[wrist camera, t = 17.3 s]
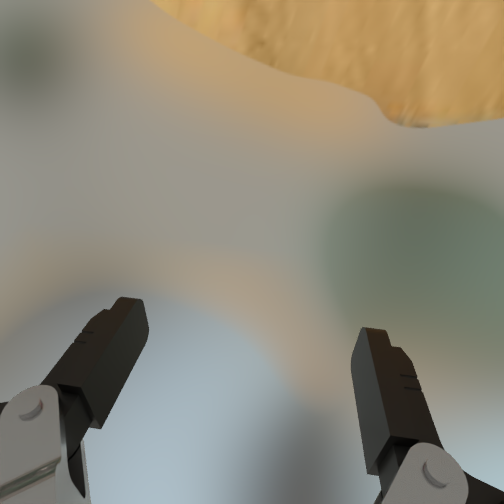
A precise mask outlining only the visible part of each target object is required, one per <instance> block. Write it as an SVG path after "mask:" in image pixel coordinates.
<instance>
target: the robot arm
mask: <svg viewBox="0 0 504 504" xmlns="http://www.w3.org/2000/svg"><path fill="white" fill-rule="evenodd" d="M148 334H149V327H148V321H147V317H146V312H145V307H144V303H143V301H142V300H141V299H135V298H127V297H120V298H118V299H117V301H116V302H115V304H114V305H113V306H112V308H111V309H110V310H107V309H104V310H102V311H101V312H100V313H98V314H97V315H96V316H94V317H93V318H91V319H90V321H89V322H88V323H87V325H86V326H85V327H84V328H83V330H82V333H80V334H79V335H78V336H77V338H76V339H75V340H74V343H72V344H71V345H70V347H69V348H68V349H67V351H66V352H65V353H64V355H63V356H62V357H61V359H60V360H59V361H58V362H57V364H56V365H55V366H54V368H53V369H52V370H51V371H50V373H49V374H48V375H47V377H46V378H45V379H44V380H43V381H42V383H41V384H40V385H38V386H33V387H30V388H28V389H26V390H24V391H22V392H20V393H19V394H17V395H16V396H15V397H13V398H12V399H11V400H10V401H9V402H4V403H0V504H91V500H90V492H89V483H88V474H87V466H86V458H85V448H84V441H83V437H84V435H85V433H86V432H87V430H88V428H89V427H90V428H96V429H101V428H102V426H103V424H104V423H105V420H106V419H107V417H108V415H109V413H110V411H111V409H112V407H113V405H114V403H115V402H116V399H117V398H118V396H119V394H120V392H121V389H122V388H123V386H124V384H125V382H126V380H127V378H128V377H129V374H130V372H131V371H132V369H133V367H134V365H135V363H136V361H137V359H138V357H139V355H140V354H141V351H142V350H143V348H144V346H145V344H146V342H147V338H148ZM351 373H352V380H353V386H354V393H355V399H356V406H357V412H358V418H359V425H360V431H361V437H362V443H363V450H364V457H365V463H366V469H367V474H371V475H377V476H379V479H380V484H381V491H380V493H379V495H378V496H377V498H376V500H375V502H374V504H504V492H503V491H501V490H499V489H497V488H495V487H493V486H490V485H488V484H487V483H484V482H482V481H480V480H478V479H476V478H474V477H472V476H471V475H469V474H467V473H466V472H465V471H463V470H462V469H461V467H460V466H459V464H458V463H457V462H456V461H455V459H454V458H453V457H452V456H451V455H450V454H448V453H447V452H446V451H445V450H444V448H443V446H442V444H441V442H440V440H439V437H438V434H437V431H436V428H435V425H434V422H433V420H432V417H431V414H430V411H429V409H428V406H427V403H426V400H425V397H424V394H423V393H422V391H421V386H420V383H419V380H418V379H417V375H416V372H415V369H414V366H413V363H412V361H411V360H410V358H409V357H408V356H407V355H406V353H405V352H404V351H403V350H402V348H400V347H392V346H391V344H390V340H389V337H388V334H387V332H386V330H381V329H374V328H365V327H362V329H361V331H360V333H359V336H358V340H357V342H356V345H355V348H354V350H353V354H352V358H351Z"/></svg>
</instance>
